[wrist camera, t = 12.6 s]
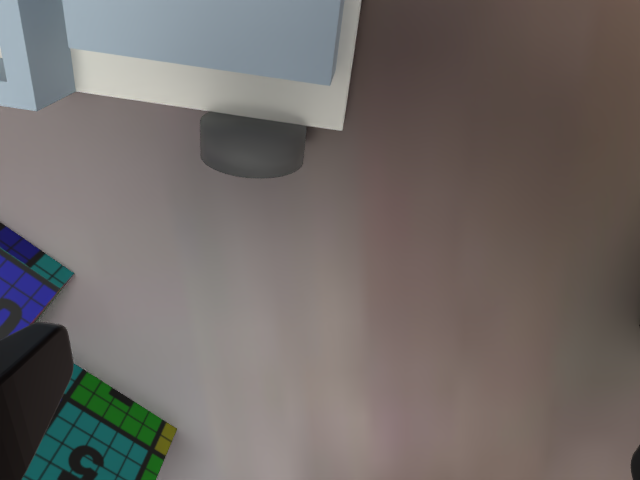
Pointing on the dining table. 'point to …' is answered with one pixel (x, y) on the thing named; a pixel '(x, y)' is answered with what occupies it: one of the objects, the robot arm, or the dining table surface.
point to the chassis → (193, 66)
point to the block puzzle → (77, 388)
